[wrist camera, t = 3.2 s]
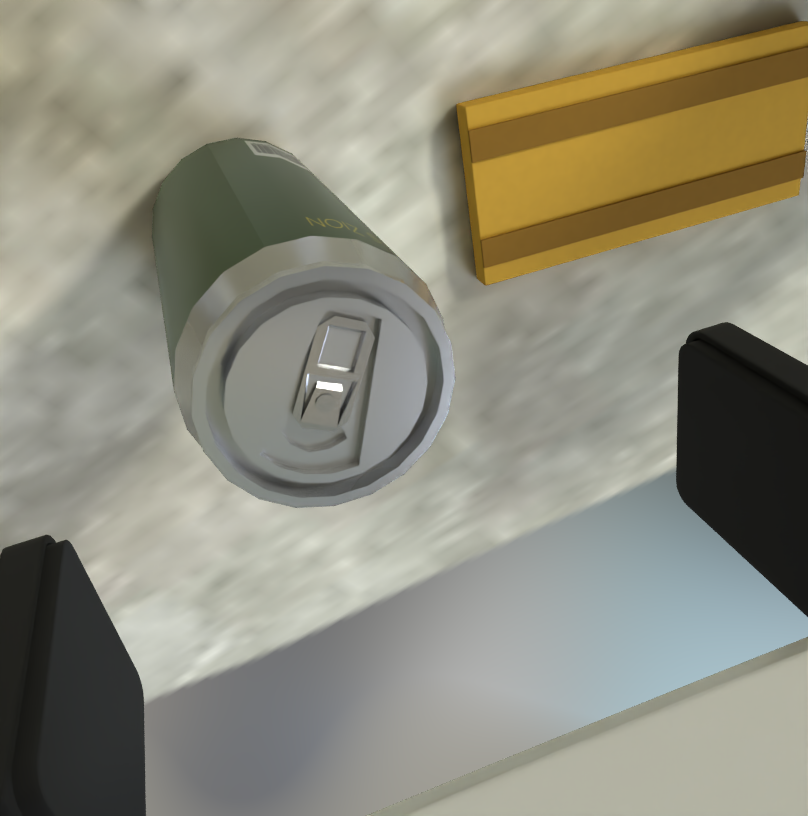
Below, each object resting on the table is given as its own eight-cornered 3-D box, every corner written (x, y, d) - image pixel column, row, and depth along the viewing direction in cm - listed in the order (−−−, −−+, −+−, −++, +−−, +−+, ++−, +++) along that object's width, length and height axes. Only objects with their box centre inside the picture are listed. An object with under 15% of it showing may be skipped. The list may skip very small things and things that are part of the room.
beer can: (169, 110, 22) (213, 217, 12) (345, 161, 24) (506, 287, 14) (135, 287, 24) (150, 505, 14) (301, 319, 26) (415, 527, 16)
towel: (476, 278, 28) (486, 287, 27) (455, 103, 24) (466, 107, 24) (784, 190, 30) (801, 196, 29) (801, 20, 27) (821, 22, 26)
